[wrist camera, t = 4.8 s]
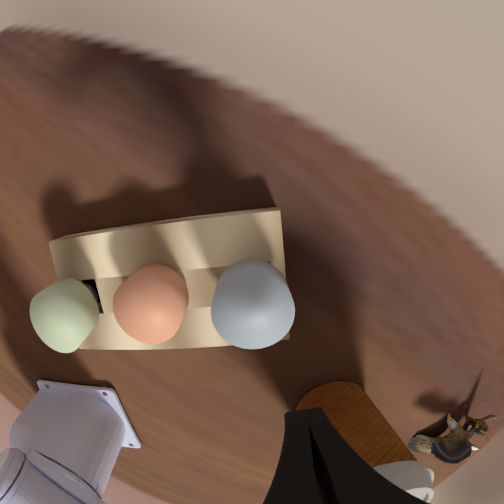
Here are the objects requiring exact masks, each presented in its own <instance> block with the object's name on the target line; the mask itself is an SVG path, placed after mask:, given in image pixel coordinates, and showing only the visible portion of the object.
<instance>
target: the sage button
mask: <svg viewBox="0 0 504 504" xmlns="http://www.w3.org/2000/svg"><path fill="white" fill-rule="evenodd" d="M97 302H98V295H97V292H96V290H95V289H94V288H93V287H92V286H91V285H90V284H87V283H81V282H80V281H78V280H76V279H73V278H62V279H59V280H58V281H56V282H54V283H53V284H51V285H50V286H48V287H47V288H45V289H44V290H42V291H41V292H39V293H37V294H36V295H35V296H34V297H33V298H32V300H31V303H30V318H31V322H32V325H33V327H34V329H35V331H36V333H37V334H38V336H39V337H40V338H41V340H42V341H43V342H44V343H45V344H46V345H48V346H49V347H50V348H52V349H54V350H56V351H58V352H61V353H71V352H73V351H75V350H76V349H77V348H78V347H79V346H80V345H81V344H82V342H83V341H84V340H85V339H86V338H87V337H88V336H89V334H90V333H91V332H92V331H93V330H94V329H95V328H96V326H97V324H98V321H99V309H98V305H97Z"/></svg>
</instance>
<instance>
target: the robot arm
mask: <svg viewBox="0 0 504 504" xmlns="http://www.w3.org/2000/svg"><path fill="white" fill-rule="evenodd" d="M37 385H38V387H39V389H40V390H39V391H38V392H37V394H36V395H35V396H34V397H33V399H32V400H31V401H30V402H29V404H28V405H27V406H26V407H25V409H24V410H23V411H22V413H21V414H20V415H19V416H18V418H17V419H16V420H15V422H14V423H13V425H12V428H11V431H10V447H11V448H6V449H5V450H4V451H3V452H1V453H0V504H106V503H105V502H103V501H102V500H101V499H102V496H103V493H104V491H105V488H106V485H107V482H108V480H109V477H110V475H111V472H112V469H113V467H114V464H115V462H116V459H117V456H118V454H119V451H120V449H121V446H123V447H130V448H140V447H141V443H140V441H139V439H138V437H137V435H136V433H135V431H134V429H133V428H132V426H131V424H130V422H129V420H128V418H127V415H126V413H125V411H124V409H123V407H122V405H121V403H120V401H119V398H118V396H117V394H116V392H115V390H113V389H112V388H107V387H95V386H85V385H76V384H67V383H60V382H53V381H46V380H38V381H37ZM105 392H106V393H105ZM284 417H285V433H284V441H283V446H282V451H281V456H280V459H279V463H278V466H277V469H276V473H275V476H274V479H273V481H272V484H271V487H270V489H269V491H268V494H267V496H266V498H265V500H264V502H263V504H430V503H427V502H425V501H423V500H421V499H419V498H417V497H415V496H413V495H411V494H410V493H408V492H406V491H405V490H403V489H401V488H400V487H398V486H396V485H395V484H393V483H392V482H390V481H389V480H388V479H386V478H385V477H383V476H382V475H381V474H380V473H378V472H377V471H376V470H375V469H373V468H372V467H371V466H370V465H369V464H368V463H367V462H366V461H365V460H364V459H362V458H361V457H360V456H359V455H358V454H357V453H356V452H355V450H354V449H353V448H352V447H351V446H350V445H349V444H348V443H347V442H346V440H345V439H344V438H343V437H342V436H341V435H340V433H339V432H338V431H337V429H336V428H335V427H334V425H333V424H332V423H331V421H330V420H329V418H328V417H327V415H326V414H325V412H324V410H323V409H322V408H321V407H317V408H311V409H305V410H298V411H291V412H287V413H285V414H284Z"/></svg>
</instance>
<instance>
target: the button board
mask: <svg viewBox="0 0 504 504" xmlns="http://www.w3.org/2000/svg"><path fill="white" fill-rule="evenodd" d="M49 245H50V250H51V254H52V259H53V263H54V267H55V272H56V276H57V279H58V280H59V279H62V278H73V279H76V280H78V281H80V282H81V283H83V281H82V280H87V279H95V282H96V286H97V289H98V293H99V297H100V301H101V302H100V303H97V305H98V309H99V321H98V324H97V326H96V328H95V329H94V330H93V331H92V332H91V333H90V334H89V336H88V337H87V338H86V339H85V340H84V341H83V342H82V344H81V345H80V346H79V348H80V349H105V350H148V349H181V348H200V347H216V346H229V345H232V344H230V343H229V342H227V341H226V340H224V339H223V338H222V337H221V336H220V335H219V334H218V332H217V331H216V329H215V327H214V325H213V323H212V319H211V305H212V301H213V297H214V293H215V289H216V285H217V282H218V280H219V278H220V276H221V275H222V273H223V272H224V271H225V270H226V269H227V268H228V267H229V266H231V265H232V264H234V263H236V262H238V261H242V260H247V259H258V260H263V261H266V262H269V263H270V264H272V265H273V266H275V267H276V268H277V269H278V270H279V271H280V272H281V273H282V275H283V276H284V278H285V280H286V274H285V261H284V248H283V236H282V224H281V213H280V210H279V209H278V208H277V207H271V208H261V209H251V210H242V211H233V212H224V213H216V214H207V215H199V216H191V217H183V218H176V219H168V220H161V221H154V222H147V223H140V224H133V225H127V226H120V227H114V228H108V229H101V230H95V231H89V232H83V233H77V234H72V235H66V236H62V237H60V238H57V239H55V240H52V241H50V242H49ZM148 264H161V265H165V266H167V267H169V268H171V269H173V270H174V271H176V272H177V273H178V274H179V275H180V276H181V277H182V279H183V280H184V282H185V284H186V286H187V288H188V292H189V304H188V307H187V310H186V312H185V314H184V317H183V319H182V321H181V324H180V326H179V328H178V331H177V332H176V333H175V335H174V336H173V337H172V338H170V339H169V340H167V341H165V342H162V343H158V344H148V343H143V342H140V341H137V340H135V339H134V338H132V337H130V336H129V335H128V334H127V333H125V332H124V331H123V330H122V328H121V327H120V326H119V324H118V323H117V321H116V319H115V316H114V312H113V297H114V294H115V292H116V290H117V288H118V287H119V286H120V285H121V284H122V283H123V282H124V281H125V280H126V279H127V278H129V277H130V276H131V275H132V274H133V273H134V272H135V271H136V270H137V269H139V268H140V267H142V266H144V265H148ZM287 339H290V334H289V331H288V333H287V334H286V335H285V336H284V337H283V338H282V339H281V340H287Z"/></svg>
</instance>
